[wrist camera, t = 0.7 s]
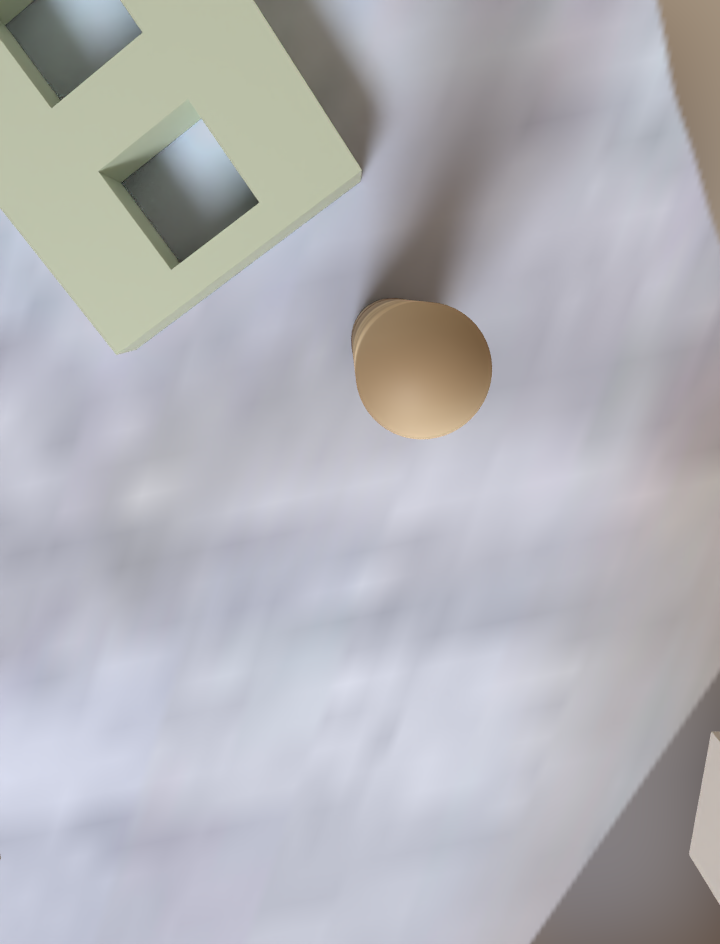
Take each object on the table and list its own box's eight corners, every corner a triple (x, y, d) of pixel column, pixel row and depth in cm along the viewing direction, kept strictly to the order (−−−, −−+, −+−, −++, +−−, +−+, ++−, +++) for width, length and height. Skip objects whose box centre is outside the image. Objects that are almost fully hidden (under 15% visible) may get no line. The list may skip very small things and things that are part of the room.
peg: (335, 328, 33) (327, 355, 19) (400, 281, 33) (444, 272, 18) (379, 392, 34) (405, 465, 20) (444, 348, 34) (518, 389, 19)
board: (-92, 58, 30) (-139, 32, 27) (146, -152, 28) (123, -204, 25) (136, 349, 33) (116, 354, 30) (360, 181, 32) (361, 170, 29)
